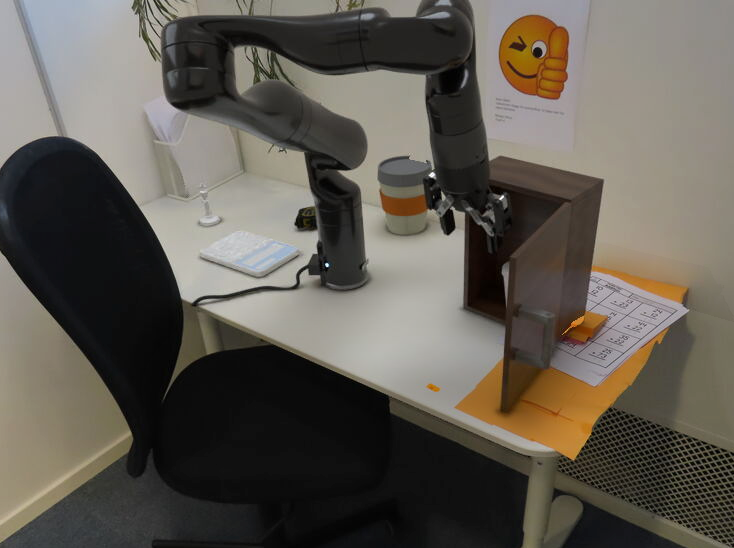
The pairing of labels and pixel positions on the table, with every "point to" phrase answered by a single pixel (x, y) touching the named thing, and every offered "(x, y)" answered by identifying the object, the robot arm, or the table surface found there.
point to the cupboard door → (533, 304)
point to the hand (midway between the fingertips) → (472, 240)
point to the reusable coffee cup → (403, 193)
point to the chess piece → (207, 210)
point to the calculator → (249, 253)
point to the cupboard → (530, 211)
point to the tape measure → (306, 218)
